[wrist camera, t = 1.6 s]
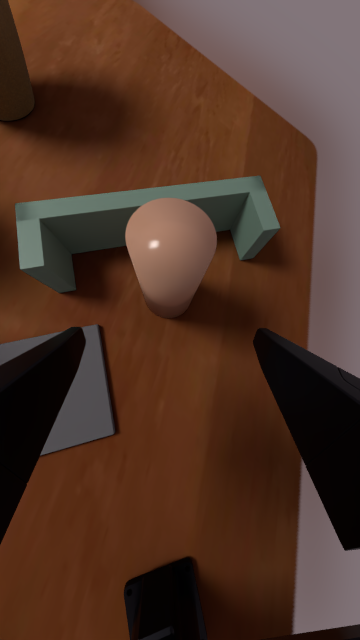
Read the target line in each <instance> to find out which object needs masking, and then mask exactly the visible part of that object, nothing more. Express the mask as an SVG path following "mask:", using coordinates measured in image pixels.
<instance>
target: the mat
mask: <svg viewBox="0 0 360 640" xmlns="http://www.w3.org/2000/svg"><path fill="white" fill-rule="evenodd" d="M82 329H83V332H84V335H85V338H86V346H85V349H84V352H83V355H82V359H81V362H80V365H79V368H78V371H77V374H76V376H75V378H74V380H73V383H72V385H71V387H70V389H69V392H68V394H67V396H66V398H65V401H64V403H63V405H62V407H61V410H60V412H59V414H58V416H57V418H56V421H55V423H54V425H53V427H52V430H51V432H50V434H49V436H48V439H47V441H46V443H45V445H44V448H43V450H42V452H41V454H40V455H43V454H47V453H50V452H54V451H57V450H61V449H64V448H68V447H71V446H75V445H78V444H81V443H85V442H88V441H92V440H95V439H99V438H102V437H106V436H109V435H113V434H114V433H115V426H114V419H113V413H112V406H111V400H110V394H109V387H108V381H107V374H106V368H105V361H104V355H103V349H102V342H101V336H100V329H99V325H97V324H96V325H91V326H87V327H82ZM62 332H64V331H62ZM62 332H58V333H53V334H48V335H43V336H38V337H34V338H29V339H24V340H19V341H14V342H9V343H5V344H0V365H2V364H4V363H6V362H7V361H9V360H11V359H13V358H15V357H17V356H19V355H21V354H22V353H24V352H26V351H28V350H30V349H32V348H34V347H35V346H37V345H39V344H41V343H43V342H45V341H47V340H49V339H50V338H52V337H54V336H56V335H58V334H60V333H62Z"/></svg>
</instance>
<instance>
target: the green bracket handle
mask: <svg viewBox="0 0 360 640" xmlns="http://www.w3.org/2000/svg"><path fill="white" fill-rule="evenodd" d="M160 198H177V199H182V200H185V201H188V202H190V203H192V204H194V205H196V206H197V207H199V208H200V209H201V210H203V211H204V212H205V213H206V214H207V215H208V217H209V218H210V220H211V221H212V223H213V225H214V228H215V231H216V232H218V231H225V230H230V231H231V234H232V237H233V240H234V243H235V246H236V249H237V252H238V255H239V258H240V260H245V259H251V258H254V257H255V256H256V254H257V253H258V252H259V251H260V250H261V249H262V248H263V247H264V246H265V244H266V243H267V242H268V241H269V240H270V239H271V238H272V237H273V236H274V235H275V233H276V232H277V231H278V230H279V229H280V226H279V223H278V220H277V218H276V215H275V213H274V210H273V207H272V205H271V202H270V200H269V197H268V194H267V192H266V189H265V187H264V184H263V181H262V179H261V176H253V177H244V178H236V179H227V180H218V181H209V182H201V183H192V184H183V185H174V186H166V187H157V188H148V189H139V190H130V191H122V192H113V193H104V194H95V195H87V196H78V197H69V198H60V199H52V200H43V201H34V202H25V203H16V204H15V209H16V222H17V235H18V248H19V261H20V270H22V271H24V272H25V273H27V274H29V275H30V276H32V277H34V278H35V279H37V280H39V281H40V282H42V283H44V284H45V285H47V286H48V287H50V288H52V289H53V290H55V291H57V292H58V293H62V292H68V291H73V290H76V284H75V277H74V270H73V262H72V255H71V254H75V253H82V252H88V251H95V250H101V249H108V248H114V247H121V246H127V245H126V239H125V234H126V227H127V224H128V221H129V220H130V218H131V216H132V215H133V213H134V212H135V211H136V210H137V209H138V208H140V207H141V206H142V205H144V204H146V203H147V202H150V201H152V200H156V199H160Z"/></svg>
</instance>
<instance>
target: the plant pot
mask: <svg viewBox="0 0 360 640" xmlns="http://www.w3.org/2000/svg"><path fill="white" fill-rule="evenodd" d="M34 104H35V100H34V95H33V91H32V86H31V82H30V78H29V74H28V70H27V66H26V62H25V58H24V54H23V51H22V47H21V43H20V40H19V36H18V33H17V29H16V26H15V23H14V19H13V16H12V12H11V9H10V6H9V3H8V0H0V120H4V121H11V120H17V119H20V118H23V117H25V116H26V115H28V114H29V113H30V112H31V111H32V110H33V108H34Z"/></svg>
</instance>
